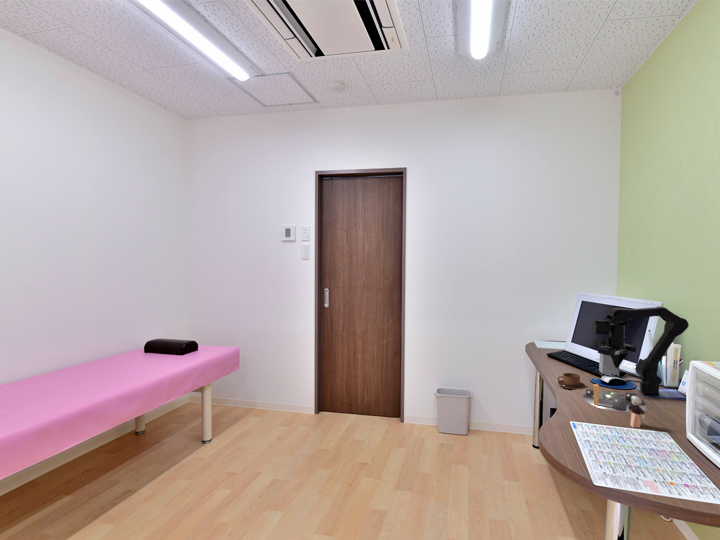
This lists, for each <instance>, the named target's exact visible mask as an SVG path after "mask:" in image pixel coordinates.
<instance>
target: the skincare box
mask: <svg viewBox="0 0 720 540" xmlns="http://www.w3.org/2000/svg"><path fill="white" fill-rule="evenodd" d="M602 347H604V346H602ZM605 347H606V346H605ZM608 348H610V347H608ZM598 363H599V365H598V367H599V369H598V372H599V371H600V372H601V373H602V374H613V375H617V376H619V377H620V366H619V367H618V368H615V366H614V363H613V360H612V358H611V356H608V355H604V354H600V353H599V362H598ZM600 372H599V373H600ZM601 373H600V374H601ZM602 374H601V375H602Z"/></svg>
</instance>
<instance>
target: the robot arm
mask: <svg viewBox="0 0 720 540" xmlns="http://www.w3.org/2000/svg"><path fill="white" fill-rule="evenodd" d="M649 317H650V318H652V317H659V318H660V319H661V320H662V321H664V322H665V323H664V326H663V332H662V334H661V336H660V337H659V339H658V340H657V341H656V343H655V345H654V346H653V348H652V349H651V351H650V352H649V354H648V356H647V357H646V358H643V359H642V358H639V359H638V361H637V363H636V364H635V365H634V366H635V368H634V369H635V373H636V375H638V376H639V379H640V382H639V392H640V393H641V394H642V395H643V396H648V397H661V394H660V385H661V383H662V380H663V379H662V378H661V377H660V376H658V375H657V374H658V371H659V363H660V362H661V360H662V359H663V357H664V356H665V355H666V353H667V351H668V350H669V348H670V347H671V346H672V344H673V342H674V340H676V338H677V337H678V336H680V335H682V334H683V333H685V331H687V330H688V328H689V326H690V325H689V321H688V320H687V319H685V318H683V317H680V316H679V315H677V314H676V313H674V312H672V311H670V310H669V309H668V308H666V307H664V306H656V307H644V308H643V307H642V308H623V307H612V308H610V310H608V314H607V315H606V316H605V318H604V319H603V320H598V319H593V322H592V325H591V332H592V335H603V336H605V335H606V336H607V335H608V336H607V337H606V339H603V338H602V337H599V338H596V341H595V344H596V345H597V346H598V348H597V353H598V354H599V355H600V354H604V355H608V356H611V358H612V360H613V363H614V366H615V368H618V367H619V368H620V365H621V364H622V363H623V361H624V359H625V358H626V356H629V355H628V353H626V351H629V352H630V353H636V352H637V347H636V346H635V345H633V344H628V343H625V341H627V337H626V336H625V332H626V331H625V327H630V326H631V325H630V323H628V322H627V321H630V320H632V319H635V318H636V319H637V318H649ZM602 346H604V347H602ZM605 346H606V347H605ZM608 347H610V348H608Z"/></svg>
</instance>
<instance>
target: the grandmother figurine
mask: <svg viewBox="0 0 720 540" xmlns="http://www.w3.org/2000/svg"><path fill="white" fill-rule="evenodd" d="M631 399H632V404H631V405H630V406H629V407H628V410H627V411H628V412H627V413H630V427H631V426H632V428H639V429H640V428H641V417H642V419H644V420H646V419H647V417H646V414H645V413H646V412H644V411H645V410H644V411H643V410H642V409H641V408H640V407H639V406H638V405H639V404H640V403H642V402H643V401H642V399H641V398H640V397H639V396H638V395H637V396H632V397H631Z"/></svg>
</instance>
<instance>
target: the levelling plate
mask: <svg viewBox="0 0 720 540" xmlns="http://www.w3.org/2000/svg"><path fill="white" fill-rule="evenodd" d="M632 396H638V394H637V393H634V392H632V391H631V392H629V391H628V392H625V394H624V393H622V392H620V391H614V390H605V391H599V399H605V400H612V401H613V397H622V398H625V399H627V410H628V407H629V406H630V405H631V404H632V399H631V397H632ZM582 400H583V401H584V402H586V403H588V404H590V405H591V406H594V407H597V408H600V409H604V410H607V411H615V412H622V413H629V412H628V411H627V410H617V409H614V408H613V406H612V405H606V404H599V405H598V406H597V405H594V388H593V389H592V388H587V389H585V393H584V394H583V395H582ZM638 406H639V407H640V408H641V409H642V410H643V411H646V410H647V409H648V405H647V404H646V403H645V402H644V401H642V403H640V404H639V405H638Z"/></svg>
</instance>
